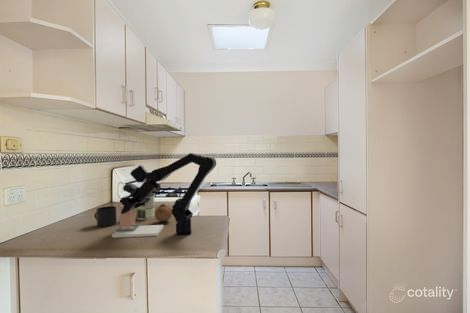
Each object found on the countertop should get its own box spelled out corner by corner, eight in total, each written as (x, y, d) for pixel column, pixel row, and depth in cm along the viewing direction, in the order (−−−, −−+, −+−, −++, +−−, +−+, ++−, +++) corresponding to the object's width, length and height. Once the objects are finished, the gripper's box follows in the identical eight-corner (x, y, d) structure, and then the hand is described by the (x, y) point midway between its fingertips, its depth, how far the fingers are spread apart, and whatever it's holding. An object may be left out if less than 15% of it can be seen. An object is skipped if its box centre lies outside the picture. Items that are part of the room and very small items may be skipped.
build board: (163, 227, 131) (163, 223, 131) (157, 235, 117) (156, 231, 117) (123, 228, 130) (123, 225, 130) (111, 237, 116) (111, 233, 116)
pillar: (135, 224, 127) (134, 202, 127) (129, 227, 122) (129, 204, 122) (126, 224, 128) (125, 202, 128) (120, 227, 123) (119, 204, 123)
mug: (101, 222, 144) (100, 206, 144) (120, 222, 142) (119, 206, 141) (88, 226, 135) (87, 209, 134) (108, 227, 132) (108, 210, 132)
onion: (161, 225, 134) (161, 206, 134) (151, 222, 140) (150, 204, 140) (176, 221, 142) (175, 203, 142) (165, 219, 148) (165, 201, 148)
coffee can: (135, 220, 146) (135, 195, 146) (137, 216, 156) (136, 193, 155) (154, 218, 149) (154, 194, 149) (154, 214, 159) (154, 192, 158)
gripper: (143, 176, 134) (124, 197, 135) (123, 179, 115) (101, 204, 117) (158, 191, 133) (139, 212, 134) (140, 197, 114) (117, 221, 116)
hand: (125, 212), depth 125 cm, fingers closed on pillar, 5 cm apart
